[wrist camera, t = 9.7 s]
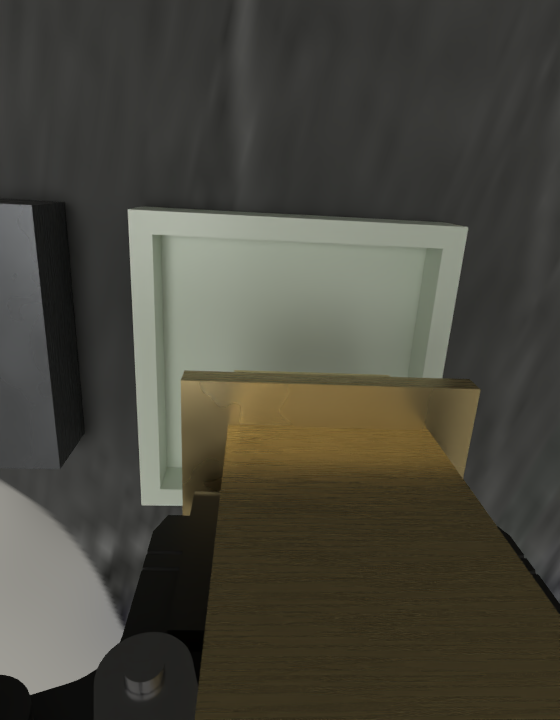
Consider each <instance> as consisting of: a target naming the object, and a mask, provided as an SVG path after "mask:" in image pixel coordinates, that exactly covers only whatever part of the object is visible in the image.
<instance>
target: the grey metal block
mask: <svg viewBox="0 0 560 720" xmlns="http://www.w3.org/2000/svg"><path fill="white" fill-rule="evenodd" d="M83 435H84V423H83V411H82V400H81V388H80V377H79V365H78V354H77V342H76V330H75V319H74V307H73V296H72V284H71V273H70V261H69V250H68V238H67V227H66V215H65V204H64V202H50V201H31V200H12V199H0V468H24V469H60V468H61V467H62V466H63V464H64V463H65V461H66V460H67V458H68V457H69V455H70V454H71V452H72V451H73V449H74V448H75V446H76V445H77V444H78V442H79V441H80V439H81V438H82V436H83Z"/></svg>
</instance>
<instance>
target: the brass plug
mask: <svg viewBox="0 0 560 720" xmlns="http://www.w3.org/2000/svg"><path fill="white" fill-rule="evenodd" d="M480 390H481V389H480V388H478V387H477V386H476V385H475V384H474V383H473V382H472V381H471V380H470V379H446V378H414V377H390V376H389V375H377V374H345V373H313V372H281V371H249V370H234V372H221V371H188V370H184V373H183V376H182V378H181V436H182V499H183V515H186V516H190V512H191V507H192V502H193V497H194V493H195V491H204V492H221V493H220V502H219V510H218V519H217V528H216V537H215V545H214V554H213V563H212V572H211V581H210V589H209V598H208V607H207V616H206V625H205V633H204V642H203V651H202V660H201V669H200V677H199V686H198V695H197V704H196V713H195V720H560V614H559V613H558V612H557V610H556V609H555V607H554V606H553V605H552V603H551V602H550V600H549V599H548V598H547V596H546V595H545V593H544V592H543V590H542V589H541V588H540V586H539V585H538V583H537V582H536V581H535V579H534V578H533V576H532V575H531V574H530V572H529V571H528V569H527V568H526V567H525V565H524V564H523V562H522V561H521V560H520V558H519V557H518V555H517V554H516V553H515V551H514V550H513V548H512V547H511V546H510V544H509V543H508V541H507V540H506V539H505V537H504V536H503V534H502V533H501V531H500V530H499V529H498V527H497V526H496V524H495V523H494V522H493V520H492V519H491V517H490V516H489V515H488V513H487V512H486V510H485V509H484V508H483V506H482V505H481V503H480V502H479V501H478V499H477V498H476V496H475V495H474V494H473V492H472V491H471V489H470V488H469V487H468V485H467V484H466V482H465V481H464V480H463V475H464V470H465V465H466V460H467V455H468V450H469V445H470V440H471V435H472V430H473V425H474V420H475V415H476V410H477V405H478V400H479V395H480Z"/></svg>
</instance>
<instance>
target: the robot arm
mask: <svg viewBox="0 0 560 720" xmlns="http://www.w3.org/2000/svg"><path fill="white" fill-rule="evenodd" d="M220 493H221V492H204V491H195V493H194V497H193V502H192V507H191V512H190V516H186V515H168V516H167V517H166V518H165V519H164V520H163V521H162V523H161V524H160V525H159V526H158V527H157V528H156V529H155V530H154V531H153V534H152V537H151V541H150V544H149V548H148V553H147V555H146V558H145V561H144V565H143V570H142V571H141V575H140V578H139V582H138V585H137V588H136V592H135V595H134V598H133V602H132V605H131V609H130V612H129V615H128V619H127V622H126V626H125V629H124V632H123V636H122V638H121V641H120V643H119V644H117V645H116V646H115V647H114V648H112V649H111V650H110V651H109V652H108V653H107V654H106V655H105V657H104V658H103V660H102V661H101V663H100V664H99V667H98V668H97V669H96V670H95V671H93V672H92V673H90V674H88V675H87V676H85V677H83V678H81V679H79V680H77V681H74V682H71V683H69V684H65V685H62V686H59V687H55V688H52V689H49V690H46V691H43V692H39V693H36V694H33V695H29V692H28V690H27V688H26V687H25V685H24V684H23V683H21V682H20V681H19V680H18V679H15V678H13V677H10V676H6V675H0V720H195V713H196V704H197V695H198V686H199V677H200V669H201V660H202V651H203V642H204V633H205V625H206V616H207V607H208V598H209V589H210V581H211V572H212V563H213V554H214V545H215V537H216V528H217V519H218V510H219V502H220ZM497 527H498V526H497ZM498 529H499V530H500V531H501V533H502V534H503V536H504V537H505V539H506V540H507V541H508V543H509V544H510V546H511V547H512V548H513V550H514V551H515V553H516V554H517V555H518V557H519V558H520V560H521V561H522V562H523V564H524V565H525V567H526V568H527V569H528V571H529V572H530V574H531V575H532V576H533V578H534V579H535V581H536V582H537V583H538V585H539V586H540V588H541V589H542V590H543V592H544V593H545V595H546V596H547V598H548V599H549V600H550V602H551V603H552V605H553V606H554V607H555V609H556V610H557V612H558V613H559V614H560V604H559V602H558V601H557V600H556V598H555V597H554V595H553V594H552V593H551V591H550V590H549V589H548V587H547V586H546V584H545V583H544V582H543V580H542V579H541V578H540V576H539V575H538V574H536V573H535V569H534V568H533V567H532V565H531V564H530V563H529V561H528V560H527V558H524V554H523V553H522V552H521V550H520V549H519V547H518V546H517V545H516V543H515V542H514V541H513V539H512V538H511V536H509V535H508V534H507V533H506V532H504V531H503V530H502V529H500V528H499V527H498Z"/></svg>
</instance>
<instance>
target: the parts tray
mask: <svg viewBox="0 0 560 720" xmlns="http://www.w3.org/2000/svg"><path fill="white" fill-rule="evenodd" d="M128 225H129V246H130V268H131V289H132V311H133V332H134V353H135V375H136V396H137V418H138V439H139V460H140V482H141V503H142V505H157V506H183V499H182V436H181V378H182V376H183V373H184V370H188V371H221V372H234V370H249V371H281V372H313V373H345V374H377V375H389V376H390V377H414V378H442V376H443V371H444V365H445V359H446V353H447V347H448V342H449V336H450V330H451V324H452V319H453V313H454V307H455V301H456V296H457V290H458V284H459V278H460V272H461V267H462V261H463V255H464V249H465V244H466V238H467V232H468V227H465V226H460V225H455V224H450V223H445V222H431V221H412V220H393V219H374V218H354V217H335V216H316V215H297V214H278V213H259V212H240V211H221V210H202V209H183V208H164V207H145V206H143V207H138V208H132V209H128Z"/></svg>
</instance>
